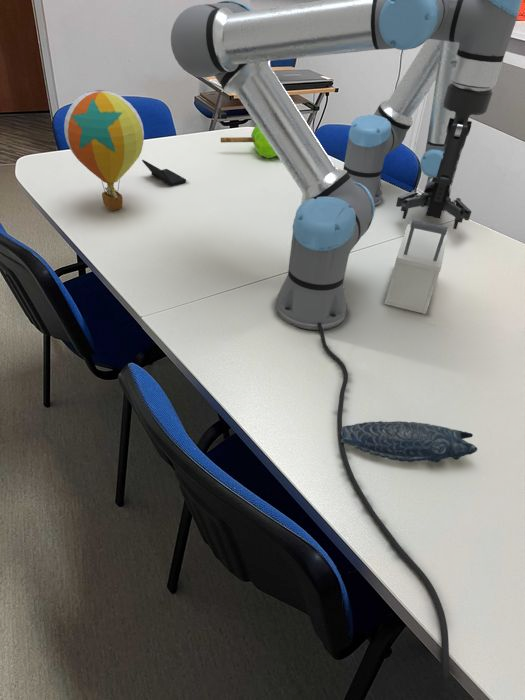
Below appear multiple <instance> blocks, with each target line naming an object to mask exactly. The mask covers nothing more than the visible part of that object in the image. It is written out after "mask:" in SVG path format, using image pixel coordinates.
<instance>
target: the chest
mask: <svg viewBox="0 0 525 700" xmlns="http://www.w3.org/2000/svg"><path fill="white" fill-rule="evenodd" d="M439 276H440V272H439V271H434V270H430V269H426V268H421V267H417V266H413V265H409V264H404V263H400V262H396V261H394V265H393V270H392V274H391V278H390V282H389V285H388V289H387V293H386V297H385V299H384V305H387V306H391V307H396V308H399V309H404V310H408V311H411V312H415V313H419V314H424V315H426V314H427V312H428V308H429V305H430V303H431V300H432V296H433V293H434V290H435V287H436V284H437V281H438V278H439Z"/></svg>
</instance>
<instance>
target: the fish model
mask: <svg viewBox="0 0 525 700" xmlns="http://www.w3.org/2000/svg"><path fill="white" fill-rule="evenodd" d="M340 434H341V437H342V439H341V442H342V443H344V445H347V446H350V447H353V448H354V449H356V450H361V451H362V452H363V453H368V454H370V455H372V456H375V457H381V458H384V459H386V458H387V459H388V460H390V461H391V460H393V461H399V462H407V463H414V462H423V461H427V462H431V463H440V461H442V460H445V459H453V460H454V461H455V460H456V461H458V460H459V459H460V458H462V457H465V456H468V455H469V456H470V455H473V454H474V453H476V452H477V451H478V447H477V446H476V445H475V444H473V443H471V442H468V441H466V440H465V439H470V438H472V437H473V436H474V434H473V433H471V432H468V431H462V430H458V429H455V428H450V427H445V426H440V425H436V424H431V423H424V422H416V421H410V422H408V421H402V420H400V421H399V420H396V421H395V420H394V421H382V420H379V421H367V422H366V421H365V422H361V423H360V422H359V423H354V424H349V425H345V426H343V425H342V429H341V432H340Z"/></svg>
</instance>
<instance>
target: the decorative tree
mask: <svg viewBox="0 0 525 700" xmlns="http://www.w3.org/2000/svg"><path fill="white" fill-rule="evenodd" d="M220 143H252V144H253V145H254V148H255V149H256V151H257V153H258V154H259V156H262V157H264V158H266V159H272V158H274V157H278V156H277V154H276V153H275V151H274V150H273V148H272V147H271V145H270V144H269V142H268V141H267V139H266V138H265V136H264V135H263V133H262V132H261V130H260V129H259V127H258V126H257V124H255V126H254V128H253V129H252V131H251V136H246V137H245V136H244V137H243V136H241V137H239V136H238V137H237V136H236V137H235V136H234V137H232V136H231V137H227V136H226V137H220Z"/></svg>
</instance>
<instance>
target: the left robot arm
mask: <svg viewBox="0 0 525 700" xmlns="http://www.w3.org/2000/svg"><path fill="white" fill-rule="evenodd" d="M522 1H523V0H315V1H307V2H300V3H294V4H289V5H288V4H287V5H280V6H274V7H273V6H272V7H267V8H259V9H252V7H250V6H248V5H247V4H246V3H245V4H244V3H242V2H239V1H234V0H222V1H218V2H216V3H205V4H197V5H193V6H189V7H187V8H185V9H183V11H181V12H180V13H179V14H178V16H177V17H176V19H175V21H174V22H173V24H172V27H171V30H170V31H171V32H170V47H171V52H172V55H173V56H174V59H175V61H176V63H178V65H179V66H180V67H181V68H182V70H184V72H186V73H187V74H190V75H191V76H192V77H197V78H204V79H205V78H211V77H214V78H215V79H216V80H217V81H218V83H219V84H220V87H222V89H223V91H224V92H225V93H229V94H230V93H231V94H235V95H236V96H237V98H238V99H239V102H241V104H242V105H243V107H244V108H245V110H246V111H247V112H248V114H249V116H250V117H251V119H252V120H253V122H254V124H255V125H257V126H258V127H259V129H260V130H261V132H262V133H263V135H264V136H265V138H266V139H267V141H268V142H269V144H270V145H271V147H272V148H273V150H274V151H275V153H276V154H277V156H276V157H278V159H279V160H280V162H281V163H282V165H283V166H284V168H285V169H286V171H287V172H288V174H289V175H290V176H291V178H292V179H293V181H294V182H295V184H296V186H297V187H298V188H299V190H300V192H301V200H300V205H299V206H298V208H297V209H296V212H295V216H294V219H293V223H292V234H291V235H292V237H291V243H290V244H291V245H290V253H289V262H288V263H289V264H288V270H287V271H288V272H287V275H286V278H285V279H284V282H283V283H282V285H281V287H280V290H279V291H278V294H277V296H276V301H275V311H276V313H277V315H278V316H279V317H280V318H281V319H282V320H283V321H284V322H286V323H287V324H289V325H291V326H293V327H296V328H300V329H304V330H310V331H318V332H319V335H320V340H321V345H322V347H323V349H324V351H325V352H326V353H327V355H328V356H329V357H330V358H332V359H333V360H334V361H335V362H336V363H337V364H338V366H340V368H341V370H342V374H343V379H342V384H341V387H340V392H339V397H338V407H337V408H338V409H337V415H336V416H337V418H336V422H337V423H336V424H337V425H336V426H337V427H336V429H337V441H338V447H339V448H338V449H339V452H340V453H339V454H340V457H341V460H342V464H343V466H344V468H345V469H344V470H345V471H346V474H347V477H348V479H349V481H350V483H351V485H352V487H353V489H354V491H355V492H356V494H357V496H358V497H359V500H360V501H361V503H362V504H363V506H364V508H365V509H366V511H367V512H368V514H369V515H370V517H371V518H372V519H373V521H374V522H375V524H376V525H377V526H378V528H379V529H380V530H381V532H382V533H383V535H384V536H385V538H387V540H388V541H389V543H390V544H391V545H392V546H393V548H394V549H395V551H397V553H398V554H399V555H400V556H401V558H402V559H403V560H404V561H405V562H406V563H407V564H408V566H410V568H411V569H412V570H413V571H414V573H415V574H417V576H418V577H419V578H420V580H421V582H422V583H423V584H424V586H425V588H426V589H427V591H428V592H429V594H430V597H431V599H432V601H433V604H434V607H435V609H436V613H437V617H438V621H439V628H440V644H441V647H440V648H441V676H442V677H443V678H444V679H445V680H448V679H450V678H449V677H450V645H449V644H450V643H449V642H450V641H449V630H448V629H449V628H448V623H447V618H446V614H445V611H444V608H443V605H442V602H441V600H440V597H439V595H438V593H437V591H436V589H435V587H434V585H433V584H432V582H431V580H430V579H429V578H428V576H427V574H425V572H423V570H422V569H421V567H420V566H418V565H417V563H416V562H415V561H414V560H413V559H412V558H411V557H410V555H409V554H407V552H406V551H405V550H404V548H403V547H402V546H401V545H400V544H399V542H398V540H397V539H396V538H395V537H394V535H393V534H392V533H391V532H390V530H389V529H388V528H387V526H386V525H385V524H384V523H383V521H382V520H381V519H380V517H379V516H378V514H377V513H376V511H375V510H374V508H373V506H372V505H371V504H370V502H369V501H368V499H367V498H366V496H365V494H364V492H363V490H362V489H361V487H360V485H359V483H358V481H357V479H356V477H355V475H354V472H353V470H352V467H351V464H350V462H349V459H348V456H347V452H346V448H345V443H342V442H341V439H342V437H341V434H340V432H341V429H342V427H343V411H344V409H343V408H344V400H345V392H346V389H347V385H348V380H349V372H348V369H347V366H346V365H345V363H344V362H343V361H342V360H341V359H340V358H339V357H338V356H337V355H336V354H335V353H334V352H333V351H332V350H331V349H330V348H329V346H328V344H327V341H326V336H325V332H324V330H325V331H326V330H329V329H333V328H336V327H337V326H339V325H340V324H342V323H343V322H344V320H345V318H346V315H347V310H348V309H347V308H348V307H347V306H348V305H347V297H346V292H345V286H344V280H345V275H346V271H347V267H348V266H347V265H348V260H349V257H350V254H351V252H352V250H353V249H354V248H355V246H356V245H357V243H358V242H359V241H360V240H361V238H362V237H363V236H364V235H365V234H366V233H367V231H368V230H369V228H370V227H371V224H372V222H373V220H374V217H375V210H376V206H375V205H374V200H373V197H372V195H371V193H370V192H369V190H368V189H367V188H366V187H365V186H363V185H362V184H360V183H357V182H354V181H353V180H352V178H351V177H350V175H349V174H348V172H347V171H346V170H343V168H338V167H336V165H335V164H334V162H333V161H332V160H331V158H330V157H329V154H328V153H327V152H326V151H325V149H324V147H323V146H322V144H321V142H320V141H319V139H318V138H317V136H316V135H315V133H314V132H313V130H312V129H311V127H310V126H309V124H308V122H307V121H306V119H305V118H304V117H303V115H302V113H301V111H300V109H298V106H296V103H294V101H293V99H292V97H291V96H290V95H289V93H288V91H287V89H286V88H285V86H284V85H283V84H282V82H281V80H280V79H279V78H278V76H277V75H276V73H275V72H274V69H273V68H272V66H271V62H272V61H273V62H274V61H283V60H292V59H301V58H302V59H303V58H311V57H320V56H331V55H340V54H349V53H359V52H368V51H376V50H377V51H379V50H391V49H393V50H394V49H395V50H399V51H407V50H413V49H417V48H418V47H420V46H423V45H424V43H425V41H426V40H428V39H435V40H443V41H450V42H459V49H458V51H457V56H456V60H457V61H451V63H450V66H451V67H455V68H454V69H453V71H452V74H451V78H450V79H451V81H452V82H453V83H451V84H450V85H449V86H448V88H447V91H446V95H445V99H444V102H443V106H444V107H445V108H446V109H447V110H449V111H454V112H456V113H455V117H454V118H450V119H449V123H448V126H447V130H446V132H447V135H446V139H445V142H444V146H445V148H444V150H445V151H444V153H443V159H441V163H440V166H439V170H438V173H437V177H436V178H435V177H433V179H432V182H435V184H434V187H433V191H432V195H431V198H430V202H429V205H428V206H427V208H426V213H425V216H426V217H429V218H433V219H434V218H435V219H439V220H440V219H441V217H442V213H443V212H444V211H443V208H444V204H445V201H446V198H447V195H448V191H449V188H450V185H451V183H452V177H453V174H454V170H455V167H456V164H457V160H459V161H460V159H461V155H459V153H460V150H461V149H462V150H463V149H464V147H465V144H466V140H467V137H468V136H469V134H470V132H471V129H472V123H473V121H471V120H469V118H470V116H472V115H474V116H480V115H484V114H485V113H487V111H488V108H489V105H490V102H491V99H492V96H493V90H492V88H494V87H495V86H496V85H497V82H498V79H499V75H500V72H501V68H502V66H503V63H504V58H505V56H506V52H507V49H508V46H509V43H510V40H511V37H512V34H513V32H514V29H515V27H516V23H517V19H518V16H519V14H520V9H521V5H522ZM452 184H453V183H452Z"/></svg>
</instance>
